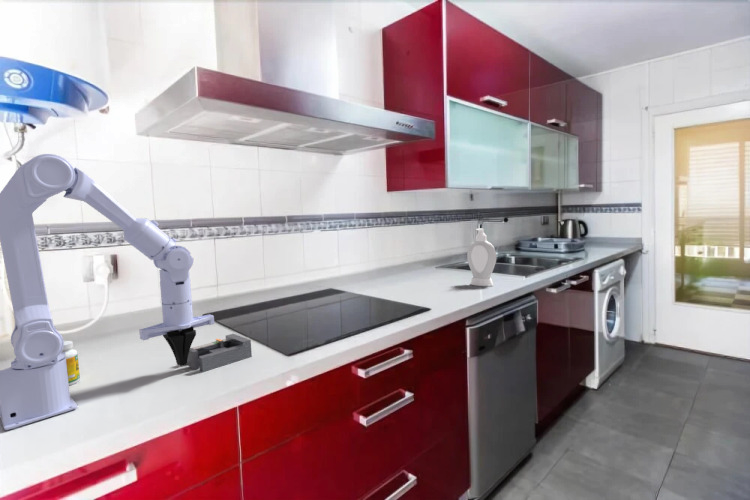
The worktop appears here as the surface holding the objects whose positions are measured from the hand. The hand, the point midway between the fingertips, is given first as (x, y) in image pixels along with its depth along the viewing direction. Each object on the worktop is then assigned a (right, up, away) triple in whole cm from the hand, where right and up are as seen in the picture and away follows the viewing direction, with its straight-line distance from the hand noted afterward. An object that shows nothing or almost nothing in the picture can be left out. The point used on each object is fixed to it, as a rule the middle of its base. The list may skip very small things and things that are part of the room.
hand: (181, 364), depth 86 cm
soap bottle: (+86, +9, +85) cm, 121 cm away
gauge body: (+6, -1, +6) cm, 9 cm away
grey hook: (+3, -1, +5) cm, 6 cm away
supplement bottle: (-22, -3, -4) cm, 22 cm away
